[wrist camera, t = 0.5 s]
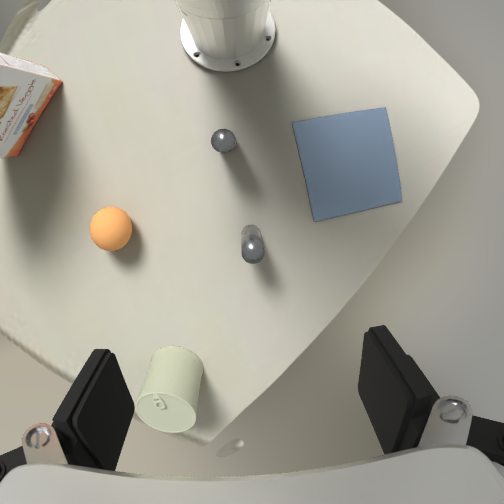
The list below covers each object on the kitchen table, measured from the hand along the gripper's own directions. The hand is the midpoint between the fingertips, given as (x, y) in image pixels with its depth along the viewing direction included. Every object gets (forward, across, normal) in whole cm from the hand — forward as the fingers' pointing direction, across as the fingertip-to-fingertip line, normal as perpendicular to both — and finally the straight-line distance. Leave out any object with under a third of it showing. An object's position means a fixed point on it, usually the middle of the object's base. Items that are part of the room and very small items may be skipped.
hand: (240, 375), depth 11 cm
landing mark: (+34, -16, -5) cm, 38 cm away
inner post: (+34, +1, -9) cm, 35 cm away
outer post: (+34, -1, +4) cm, 35 cm away
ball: (+31, +18, 0) cm, 36 cm away
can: (+35, +14, +26) cm, 46 cm away
